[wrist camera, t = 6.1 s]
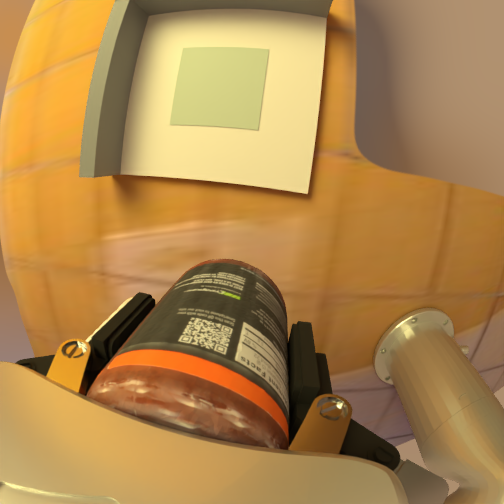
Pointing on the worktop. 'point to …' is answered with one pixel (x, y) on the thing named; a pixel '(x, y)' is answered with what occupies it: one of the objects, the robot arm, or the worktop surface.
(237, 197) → the worktop surface
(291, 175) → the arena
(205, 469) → the robot arm
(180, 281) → the supplement bottle
